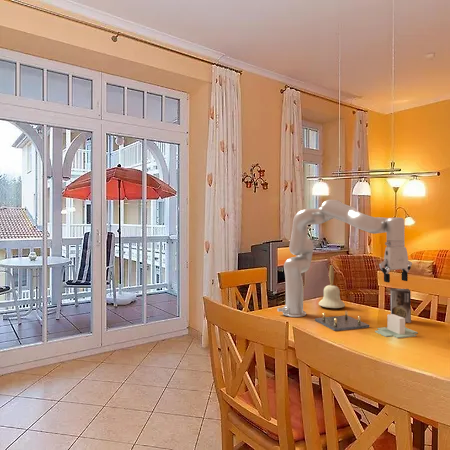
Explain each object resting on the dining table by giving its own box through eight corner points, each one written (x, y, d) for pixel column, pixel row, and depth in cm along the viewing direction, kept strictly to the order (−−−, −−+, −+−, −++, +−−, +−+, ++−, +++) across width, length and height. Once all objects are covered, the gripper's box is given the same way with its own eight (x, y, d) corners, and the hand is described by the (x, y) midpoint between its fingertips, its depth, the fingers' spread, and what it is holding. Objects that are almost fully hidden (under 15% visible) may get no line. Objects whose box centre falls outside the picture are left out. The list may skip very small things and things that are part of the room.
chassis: (334, 331, 179) (334, 321, 179) (314, 320, 198) (314, 311, 198) (369, 327, 184) (369, 317, 184) (346, 317, 203) (346, 308, 203)
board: (390, 340, 167) (390, 321, 167) (370, 330, 181) (370, 314, 180) (422, 336, 172) (422, 318, 171) (400, 327, 185) (400, 311, 185)
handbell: (331, 311, 215) (331, 267, 215) (312, 306, 229) (312, 264, 228) (350, 308, 223) (350, 265, 222) (331, 303, 236) (331, 263, 235)
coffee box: (409, 319, 197) (409, 288, 197) (411, 323, 191) (411, 291, 191) (390, 318, 200) (390, 287, 200) (391, 321, 194) (391, 290, 194)
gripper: (385, 245, 169) (385, 283, 170) (417, 244, 174) (417, 281, 174) (374, 244, 177) (374, 281, 177) (405, 243, 181) (405, 279, 182)
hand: (395, 281), depth 176 cm, fingers open, 9 cm apart
